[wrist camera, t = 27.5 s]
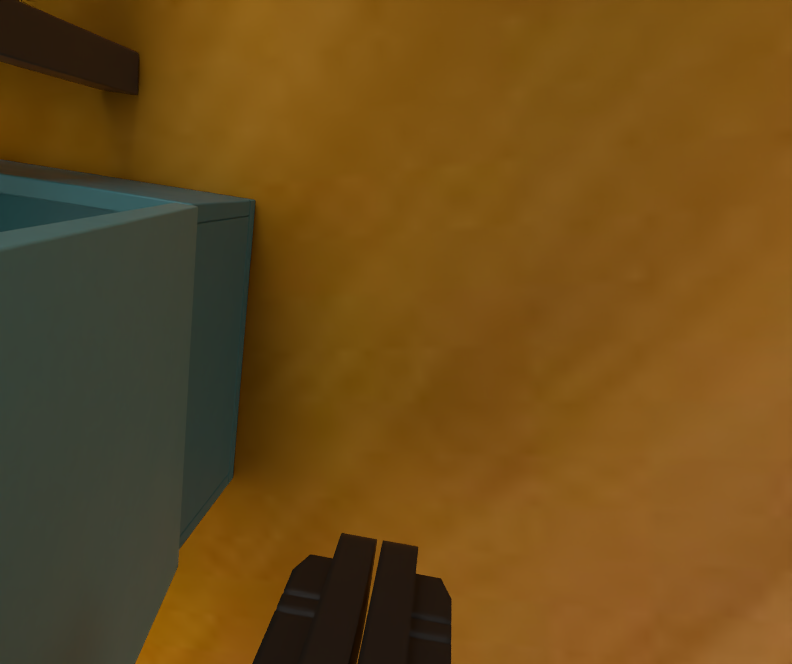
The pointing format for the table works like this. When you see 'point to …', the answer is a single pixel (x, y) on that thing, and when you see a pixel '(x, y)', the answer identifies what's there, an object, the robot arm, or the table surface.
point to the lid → (92, 430)
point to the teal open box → (211, 313)
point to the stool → (64, 50)
